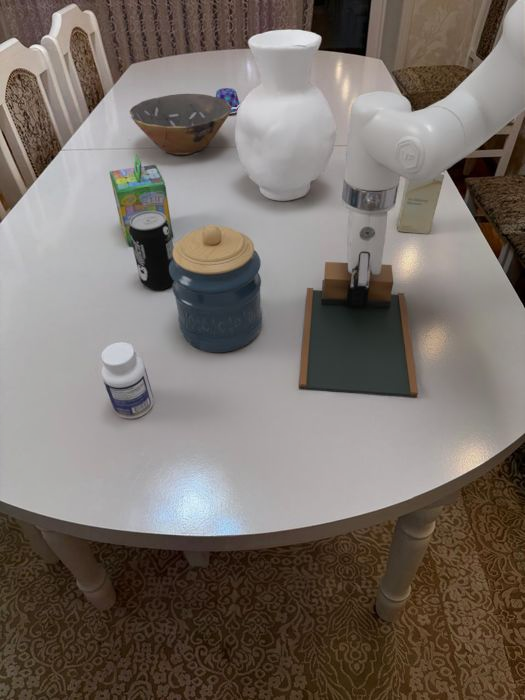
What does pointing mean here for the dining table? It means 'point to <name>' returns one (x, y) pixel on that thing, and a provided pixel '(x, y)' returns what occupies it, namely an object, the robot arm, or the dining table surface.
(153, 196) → the chalk box
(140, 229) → the beverage can
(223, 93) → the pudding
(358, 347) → the board
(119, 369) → the pill bottle
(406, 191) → the cosmetic box
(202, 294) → the canister
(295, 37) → the vase
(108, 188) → the dining table surface
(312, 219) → the dining table surface
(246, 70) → the dining table surface
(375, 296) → the eraser
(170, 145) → the bowl
